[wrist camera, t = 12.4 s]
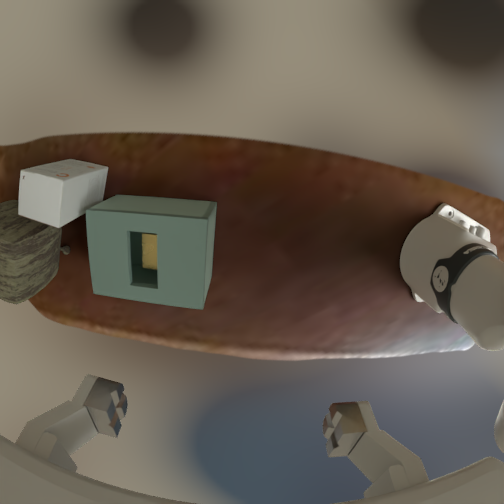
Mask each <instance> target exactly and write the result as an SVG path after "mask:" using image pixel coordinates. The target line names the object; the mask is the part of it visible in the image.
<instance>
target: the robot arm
mask: <svg viewBox="0 0 504 504" xmlns="http://www.w3.org/2000/svg"><path fill="white" fill-rule="evenodd" d="M449 212H450V213H449ZM448 213H449V214H448ZM400 270H401V274H402V277H403V279H404V280H405V282H406V283H407V284H408V285H409V286H410V288H411V290H412V295H413V298H414V299H415V300H416V301H417V302H423V301H424V302H426V303H427V304H428V305H429V306H430V307H431V308H432V309H434V310H435V311H436V312H437V313H441V312H444V314H445V315H446V316H447V317H448V318H450V319H451V320H452V321H453V322H455V323H457V324H459V325H460V326H461V327H462V328H463V329H464V330H465V331H466V333H467V334H468V335H469V336H470V337H471V338H472V339H473V341H474V342H475V343H476V344H477V345H478V346H479V347H480V348H482V349H485V350H490V351H497V350H501V349H504V262H502V261H500V260H499V258H498V256H497V250H496V246H495V245H493V244H492V243H490V232H489V230H488V229H487V228H485V227H484V226H482V225H481V224H479V223H478V222H476V221H474V220H473V219H471V218H470V217H468V216H466V215H465V214H463V213H461V212H460V211H458V210H456V209H455V208H453V207H451V206H450V205H448V204H446V203H443V204H441V205H440V206H439V207H438V208H437V209H436V211H435V212H434V213H433V214H432V215H431V216H429V217H427V218H425V219H424V220H422V221H421V222H419V223H418V224H417V225H416V226H415V227H414V228H413V229H412V230H411V232H410V233H409V235H408V236H407V238H406V240H405V242H404V244H403V247H402V251H401V255H400ZM123 391H124V386H123V384H122V383H118V382H115V381H111V380H107V379H104V378H100V377H97V376H93V375H90V374H88V375H87V376H86V377H85V378H84V380H83V381H82V383H81V385H80V387H79V388H78V390H77V392H76V394H75V396H74V397H73V399H72V401H66V402H65V403H63V404H61V405H59V406H57V407H55V408H53V409H51V410H49V411H48V412H46V413H44V414H42V415H40V416H38V417H36V418H34V419H32V420H30V421H28V422H27V424H26V425H25V427H24V429H23V430H22V432H21V434H20V436H19V437H18V439H17V441H16V443H13V442H11V441H10V440H8V439H6V438H5V437H3V436H1V435H0V504H196V503H188V502H182V501H176V500H170V499H165V498H160V497H155V496H150V495H146V494H142V493H138V492H134V491H130V490H127V489H123V488H119V487H116V486H113V485H109V484H106V483H103V482H100V481H97V480H94V479H92V478H89V477H86V476H83V475H81V474H78V473H76V470H77V466H76V464H75V463H74V461H73V460H72V459H71V457H70V455H71V454H73V453H74V452H75V451H76V450H78V449H79V448H81V447H82V446H83V445H84V444H85V443H87V442H88V441H90V440H91V439H92V438H94V437H95V436H96V435H97V434H98V433H101V434H105V435H108V436H112V437H118V434H119V431H120V429H121V422H120V420H121V419H123V418H124V417H125V415H126V412H127V405H128V404H127V397H126V396H125V395H124V394H123ZM329 411H330V413H328V414H327V415H326V416H325V418H324V421H323V434H324V436H325V437H326V438H327V439H328V441H327V443H326V448H327V453H328V457H339V456H348V458H349V459H350V460H351V461H352V462H353V463H354V464H355V465H356V466H357V467H358V468H359V469H360V470H361V472H363V474H364V475H366V477H367V478H368V479H369V480H370V481H371V482H372V483H373V484H372V485H371V486H370V487H369V488H368V489H367V490H366V491H365V492H364V497H365V498H364V499H359V500H353V501H348V502H341V503H334V504H504V463H503V462H501V461H499V460H498V459H496V458H493V457H486V458H484V459H482V460H480V461H477V462H475V463H473V464H471V465H469V466H467V467H465V468H462V469H460V470H457V471H455V472H452V473H450V474H447V475H445V476H442V477H439V478H436V479H434V480H431V481H429V479H428V476H427V474H426V471H425V469H424V466H423V464H422V461H421V459H420V458H419V457H418V456H417V455H415V454H414V453H412V452H411V451H410V450H408V449H407V448H406V447H404V446H403V445H402V444H400V443H399V442H398V441H396V440H395V439H394V438H392V437H391V436H390V435H388V434H387V433H386V432H385V431H383V430H379V428H378V425H377V422H376V419H375V417H374V414H373V412H372V409H371V406H370V404H369V402H368V401H360V402H342V403H332V404H331V405H330V407H329ZM494 437H495V441H496V443H497V445H498V447H499V449H500V450H501V451H502V452H503V453H504V400H503V403H502V405H501V408H500V411H499V414H498V416H497V419H496V422H495V426H494Z"/></svg>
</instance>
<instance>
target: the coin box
mask: <svg viewBox="0 0 504 504" xmlns="http://www.w3.org/2000/svg"><path fill="white" fill-rule="evenodd" d="M216 210H217V202H212V201H200V200H189V199H176V198H163V197H148V196H132V195H115V196H113V197H111V198H109V199H107V200H105V201H103V202H101V203H99V204H97V205H95V206H93V207H91V208H89V209H87V210H86V227H87V241H88V252H89V262H90V270H91V278H92V285H93V292H94V294H99V295H105V296H111V297H117V298H123V299H129V300H135V301H142V302H148V303H155V304H162V305H170V306H177V307H185V308H193V309H202V310H203V307H204V304H205V300H206V296H207V292H208V288H209V285H210V281H211V277H212V265H213V250H214V236H215V223H216ZM143 232H145V233H155V234H157V270H155V269H148V268H143V265H142V233H143Z"/></svg>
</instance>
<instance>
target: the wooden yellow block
mask: <svg viewBox="0 0 504 504" xmlns="http://www.w3.org/2000/svg"><path fill="white" fill-rule="evenodd" d="M142 265H143V268H148V269H155V270H157V234H155V233H145V232H143V233H142Z"/></svg>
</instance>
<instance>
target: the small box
mask: <svg viewBox="0 0 504 504" xmlns="http://www.w3.org/2000/svg"><path fill="white" fill-rule="evenodd" d="M107 172H108V167H106V166H102V165H98V164H93V163H89V162H84V161H79V160H74V159H68V160H63V161H58V162H54V163H49V164H44V165H40V166H36V167H31V168H27V169H23V170H21V174H20V184H19V204H18V214H19V215H21V216H24V217H26V218H29V219H32V220H35V221H38V222H41V223H44V224H47V225H50V226H53V227H56V228H60V227H62V226H64V225H65V224H67V223H69V222H70V221H72V220H74V219H76V218H78V217H79V216H81V215H83V214H85V213H86V210H87V209H89V208H91V207H93V206H95V205H97V204H99V203H101V202H103V197H104V190H105V184H106V178H107Z"/></svg>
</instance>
